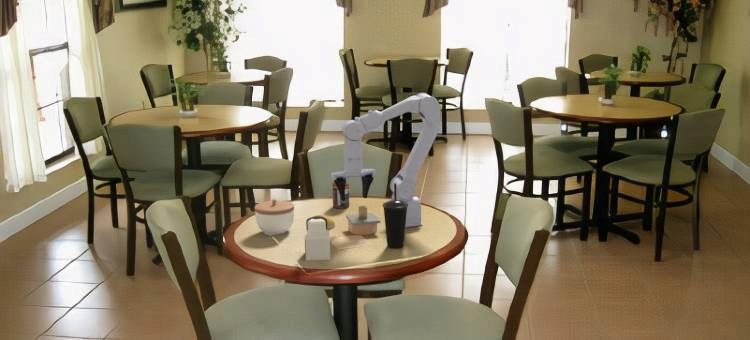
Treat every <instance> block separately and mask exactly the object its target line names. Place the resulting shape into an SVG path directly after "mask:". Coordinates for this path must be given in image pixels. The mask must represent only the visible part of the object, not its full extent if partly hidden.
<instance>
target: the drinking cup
mask: <svg viewBox="0 0 750 340" xmlns="http://www.w3.org/2000/svg"><path fill="white" fill-rule="evenodd" d="M407 207H408V203H406V202H403V201H401V200H396V183H394V200H392V199H391V200H388V201H385V202H382V208H383V215H384V226H385V235H386V245H387V248H388V249H392V250H394V249H395V250H399V249H402V248H404V245H405V244H404V243H405V235H406V227H405V225H406V214H407Z"/></svg>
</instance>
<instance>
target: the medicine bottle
mask: <svg viewBox="0 0 750 340" xmlns="http://www.w3.org/2000/svg"><path fill="white" fill-rule="evenodd" d="M314 216H315V217H314ZM314 216H310V217H308V218H307V219H306V220H305V221H306V224H305V225H306V230H305V231H304V253H305V254H304V256H305V261H322V260H323V261H325V260H326V261H327V260H329V261H330V260H331V242H330V238H331V237H330V236H331V235H330V230H329V229H328V230H327V219H326V218H324V217H320V216H317V215H314Z"/></svg>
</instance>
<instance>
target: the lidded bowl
mask: <svg viewBox="0 0 750 340" xmlns="http://www.w3.org/2000/svg"><path fill="white" fill-rule="evenodd" d="M254 216H255V221H256V224H257V226H258V228H259V230H260V231H262V232H263V234H264V235H265V236H269V237H273V236H275V235H276V236H277V235H283V234H285V233H286V232H288V231H289V230H290V229H291V227H292V226H293V223H294V216H295V204H294V202H291V201H288V200H287V201H286V200H277V199H275V198H273V199H272V200H265V201H262V202H259V203H256V204H255V205H254Z"/></svg>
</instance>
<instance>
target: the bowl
mask: <svg viewBox="0 0 750 340" xmlns="http://www.w3.org/2000/svg"><path fill="white" fill-rule="evenodd" d="M347 223H348V226H347V228H348V229H347V230H348V232H349V233H351V234H352V235H353V234H354V235H361V236H364V235H365V236H366V235H373V234H375V233H376V232H377V231H378V223H375V224H364V225H352V224H351V223H350V222H349V220H348V219H347Z"/></svg>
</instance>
